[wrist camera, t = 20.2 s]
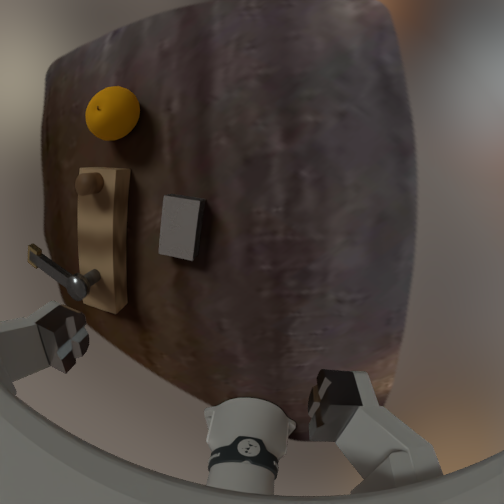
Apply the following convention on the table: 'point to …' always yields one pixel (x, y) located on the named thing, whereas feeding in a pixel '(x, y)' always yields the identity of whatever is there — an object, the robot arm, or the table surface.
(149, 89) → the table surface
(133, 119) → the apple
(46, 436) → the robot arm
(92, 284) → the plane body
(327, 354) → the table surface
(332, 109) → the table surface
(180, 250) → the lever cap
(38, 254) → the lever
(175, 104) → the table surface
